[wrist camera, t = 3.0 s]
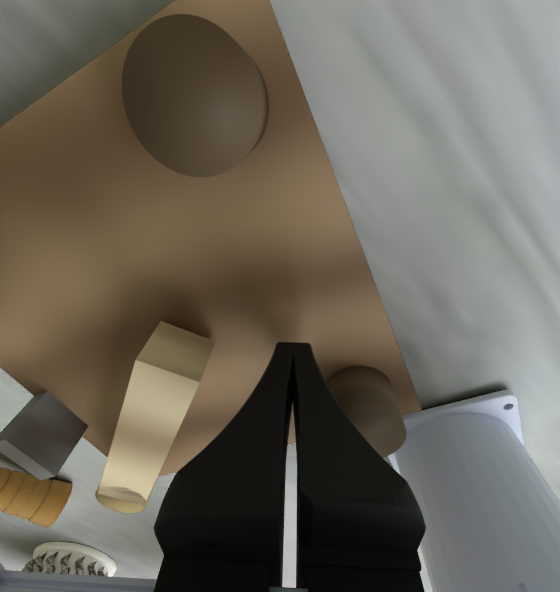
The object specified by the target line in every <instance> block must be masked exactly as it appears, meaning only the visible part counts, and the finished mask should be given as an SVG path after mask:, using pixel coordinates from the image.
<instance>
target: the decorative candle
mask: <svg viewBox="0 0 560 592" xmlns="http://www.w3.org/2000/svg"><path fill="white" fill-rule="evenodd" d="M116 569H117V566H116V564H115V561H114V560H112V559H111V558H110V557H109V556H107V555H106V554H105V553H102V552H100V551H98V550H96V549H94V548H91V547H88V546H84V545H80V544H76V543H69V542H59V541H57V542H47V543H43V544H41V545H39V546H37V547H36V549H35V550H34V554H33V560H31V561H29V562H28V563H27V564H26V565H25V568H23V569H22V571H24V572H40V573H57V574H73V575H89V576H105V577H112V576H113V574H114V573H115V571H116Z"/></svg>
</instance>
